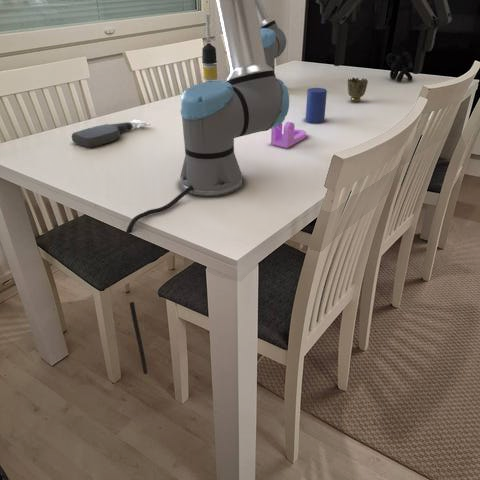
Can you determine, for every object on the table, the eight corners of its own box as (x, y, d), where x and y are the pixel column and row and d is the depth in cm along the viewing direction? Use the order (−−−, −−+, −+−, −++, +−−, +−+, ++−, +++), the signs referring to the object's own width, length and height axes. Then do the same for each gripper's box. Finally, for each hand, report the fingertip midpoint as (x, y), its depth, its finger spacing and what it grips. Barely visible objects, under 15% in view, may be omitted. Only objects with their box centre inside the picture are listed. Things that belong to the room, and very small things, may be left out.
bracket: (287, 148, 130) (288, 124, 126) (271, 144, 133) (271, 121, 129) (309, 135, 139) (310, 113, 135) (293, 132, 142) (294, 110, 138)
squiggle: (400, 92, 202) (376, 71, 205) (417, 76, 202) (392, 56, 205) (405, 81, 191) (380, 59, 194) (423, 64, 191) (397, 42, 194)
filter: (220, 99, 177) (217, 15, 161) (206, 100, 176) (202, 16, 160) (215, 96, 182) (212, 14, 166) (202, 97, 180) (197, 14, 164)
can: (327, 122, 151) (330, 91, 145) (310, 124, 149) (312, 93, 144) (319, 117, 156) (321, 87, 150) (302, 118, 154) (304, 88, 149)
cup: (343, 102, 170) (345, 80, 166) (348, 97, 176) (350, 76, 172) (362, 104, 167) (365, 82, 163) (367, 99, 173) (370, 78, 169)
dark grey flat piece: (70, 142, 137) (133, 123, 153) (90, 149, 131) (154, 129, 147) (68, 132, 136) (131, 115, 152) (89, 139, 130) (153, 120, 146)
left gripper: (496, -89, 62) (458, 71, 73) (328, -79, 73) (318, 58, 85) (487, -94, 56) (448, 80, 68) (308, -81, 68) (301, 65, 79)
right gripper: (318, -41, 159) (314, 25, 170) (379, -43, 166) (371, 21, 177) (309, -40, 165) (306, 23, 176) (367, -42, 172) (361, 19, 183)
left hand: (376, 68), depth 76 cm, fingers open, 13 cm apart
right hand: (339, 22), depth 177 cm, fingers open, 13 cm apart
